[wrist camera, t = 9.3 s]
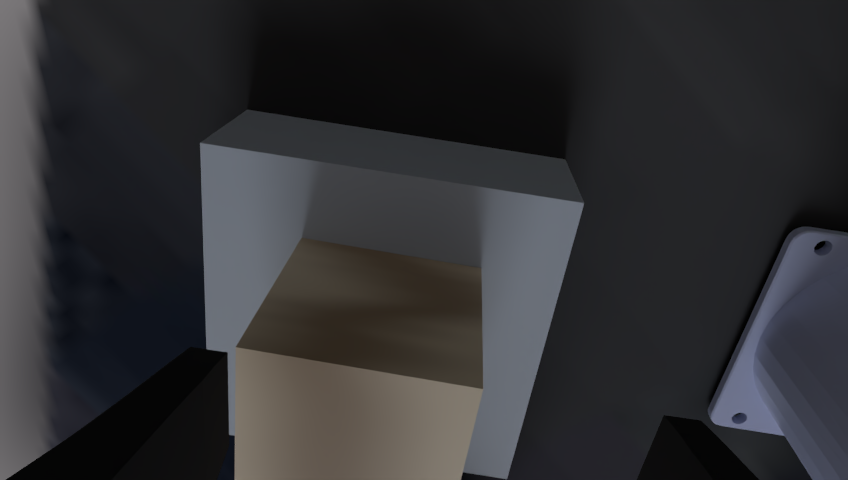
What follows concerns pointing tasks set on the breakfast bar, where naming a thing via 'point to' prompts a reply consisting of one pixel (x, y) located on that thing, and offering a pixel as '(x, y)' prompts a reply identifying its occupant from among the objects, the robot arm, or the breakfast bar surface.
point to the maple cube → (360, 368)
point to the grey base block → (392, 236)
